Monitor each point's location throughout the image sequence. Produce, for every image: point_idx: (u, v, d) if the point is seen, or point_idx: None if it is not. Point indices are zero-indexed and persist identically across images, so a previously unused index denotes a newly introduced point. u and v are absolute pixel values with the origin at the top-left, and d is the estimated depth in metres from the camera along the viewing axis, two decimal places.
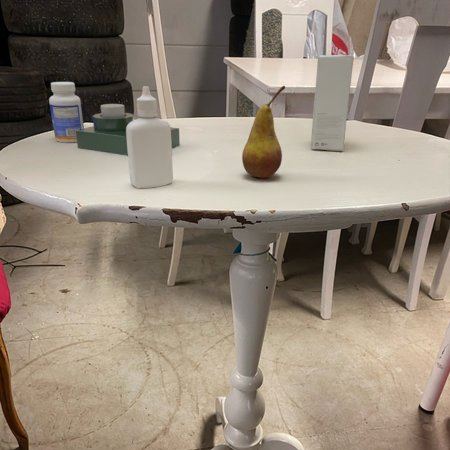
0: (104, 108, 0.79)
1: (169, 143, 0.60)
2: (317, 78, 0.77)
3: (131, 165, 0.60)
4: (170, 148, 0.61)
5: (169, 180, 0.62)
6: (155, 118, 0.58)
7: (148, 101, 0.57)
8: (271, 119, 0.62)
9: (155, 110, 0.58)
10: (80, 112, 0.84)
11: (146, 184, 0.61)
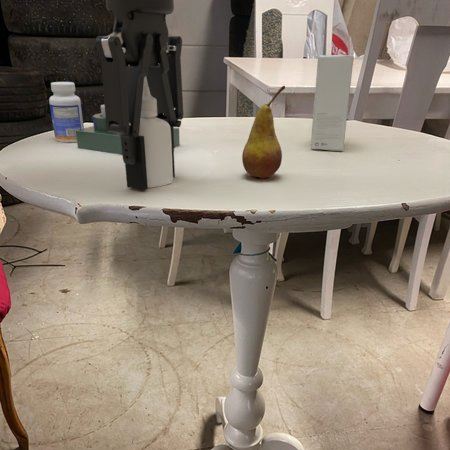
0: (104, 108, 0.79)
1: (169, 143, 0.60)
2: (317, 78, 0.77)
3: None
4: (170, 148, 0.61)
5: (169, 180, 0.62)
6: (155, 118, 0.58)
7: (148, 101, 0.57)
8: (271, 119, 0.62)
9: (155, 110, 0.58)
10: (80, 112, 0.84)
11: None
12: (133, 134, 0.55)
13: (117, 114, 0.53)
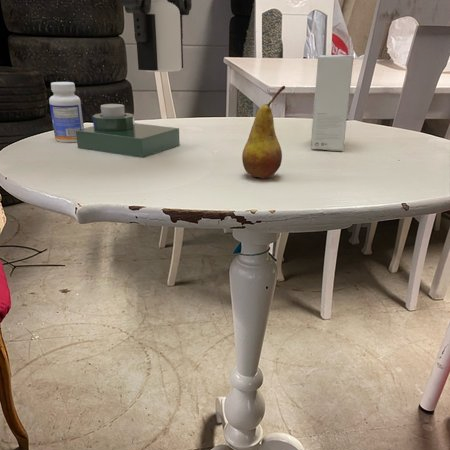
0: (104, 108, 0.79)
1: (178, 28, 0.64)
2: (317, 78, 0.77)
3: None
4: (179, 33, 0.64)
5: (178, 66, 0.66)
6: (165, 0, 0.61)
7: None
8: (271, 119, 0.62)
9: None
10: (80, 112, 0.84)
11: None
12: (145, 9, 0.58)
13: None
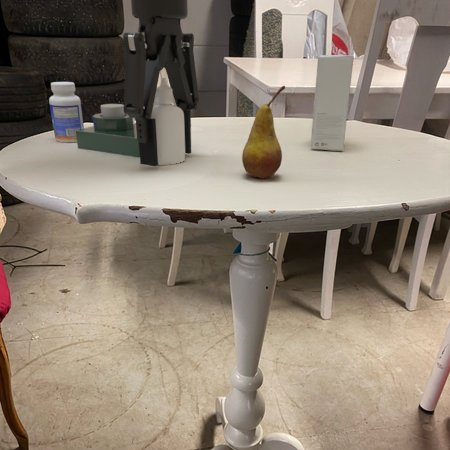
0: (104, 108, 0.79)
1: (182, 127, 0.71)
2: (317, 78, 0.77)
3: None
4: (183, 131, 0.71)
5: (182, 159, 0.73)
6: (171, 105, 0.69)
7: (165, 90, 0.67)
8: (271, 119, 0.62)
9: (171, 98, 0.68)
10: (80, 112, 0.84)
11: (163, 162, 0.71)
12: (146, 116, 0.64)
13: (135, 98, 0.62)
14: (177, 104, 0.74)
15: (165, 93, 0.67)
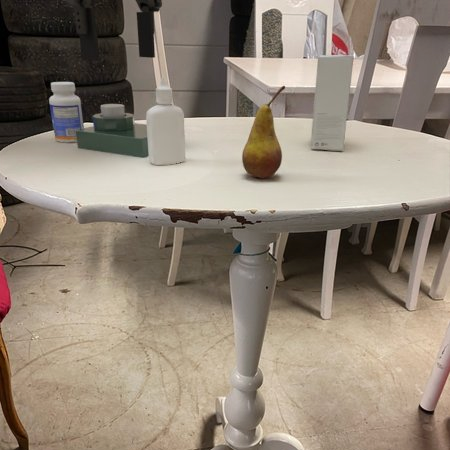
0: (104, 108, 0.79)
1: (182, 127, 0.71)
2: (317, 78, 0.77)
3: (150, 145, 0.70)
4: (183, 131, 0.71)
5: (182, 159, 0.73)
6: (171, 105, 0.69)
7: (165, 90, 0.67)
8: (271, 119, 0.62)
9: (171, 98, 0.68)
10: (80, 112, 0.84)
11: (163, 162, 0.71)
12: (83, 2, 0.63)
13: None
14: (140, 8, 0.76)
15: (165, 93, 0.67)
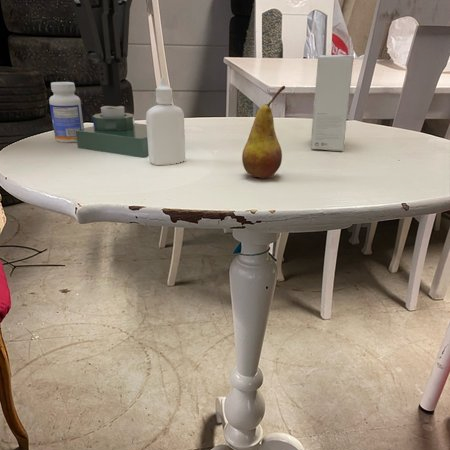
0: (104, 110, 0.79)
1: (182, 127, 0.71)
2: (317, 78, 0.77)
3: (150, 145, 0.70)
4: (183, 131, 0.71)
5: (182, 159, 0.73)
6: (171, 105, 0.69)
7: (165, 90, 0.67)
8: (271, 119, 0.62)
9: (171, 98, 0.68)
10: (80, 112, 0.84)
11: (163, 162, 0.71)
12: (107, 61, 0.75)
13: (93, 46, 0.73)
14: None
15: (165, 93, 0.67)
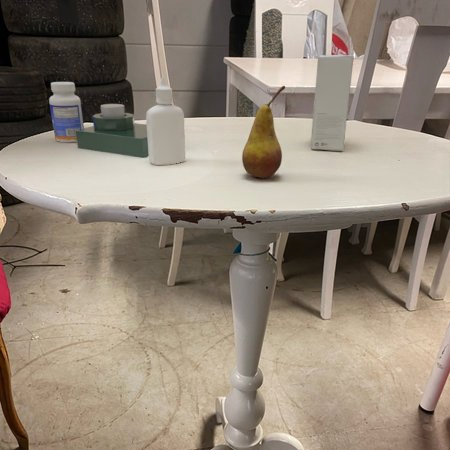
0: (104, 108, 0.79)
1: (182, 127, 0.71)
2: (317, 78, 0.77)
3: (150, 145, 0.70)
4: (183, 131, 0.71)
5: (182, 159, 0.73)
6: (171, 105, 0.69)
7: (165, 90, 0.67)
8: (271, 119, 0.62)
9: (171, 98, 0.68)
10: (80, 112, 0.84)
11: (163, 162, 0.71)
12: None
13: None
14: None
15: (165, 93, 0.67)
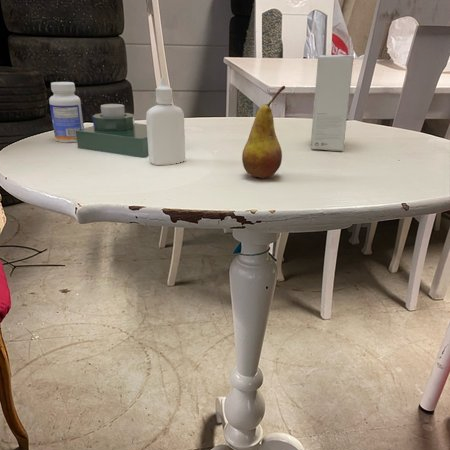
0: (104, 108, 0.79)
1: (182, 127, 0.71)
2: (317, 78, 0.77)
3: (150, 145, 0.70)
4: (183, 131, 0.71)
5: (182, 159, 0.73)
6: (171, 105, 0.69)
7: (165, 90, 0.67)
8: (271, 119, 0.62)
9: (171, 98, 0.68)
10: (80, 112, 0.84)
11: (163, 162, 0.71)
12: None
13: None
14: None
15: (165, 93, 0.67)
